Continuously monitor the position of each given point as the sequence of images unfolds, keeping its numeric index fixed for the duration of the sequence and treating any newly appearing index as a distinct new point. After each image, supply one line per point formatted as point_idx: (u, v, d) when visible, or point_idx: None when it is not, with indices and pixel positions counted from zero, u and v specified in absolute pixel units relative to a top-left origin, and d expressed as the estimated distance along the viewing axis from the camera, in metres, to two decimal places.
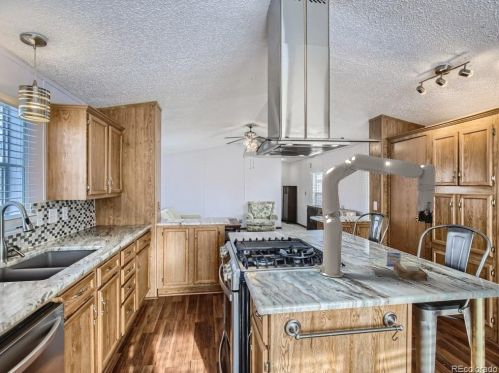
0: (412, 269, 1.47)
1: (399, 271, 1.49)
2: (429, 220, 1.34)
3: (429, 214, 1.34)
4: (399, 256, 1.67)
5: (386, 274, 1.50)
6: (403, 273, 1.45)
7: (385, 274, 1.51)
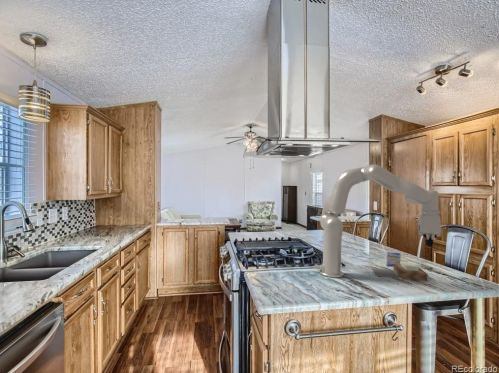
0: (412, 269, 1.47)
1: (399, 271, 1.49)
2: (426, 243, 1.49)
3: None
4: (399, 256, 1.67)
5: (386, 274, 1.50)
6: (403, 273, 1.45)
7: (385, 274, 1.51)
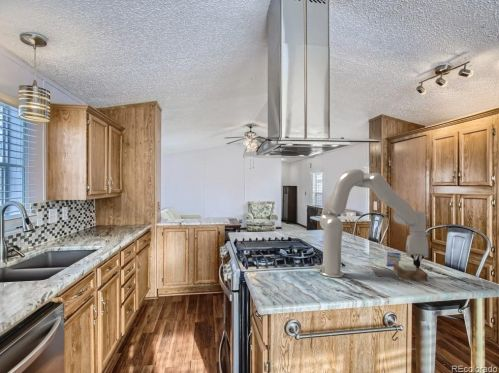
0: (410, 269, 1.47)
1: (399, 271, 1.49)
2: None
3: None
4: (399, 256, 1.67)
5: (386, 274, 1.50)
6: (403, 273, 1.45)
7: (385, 274, 1.51)
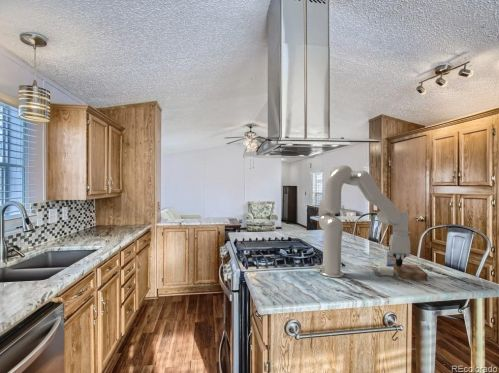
0: (387, 271, 1.50)
1: (399, 271, 1.49)
2: (396, 263, 1.53)
3: None
4: (399, 256, 1.67)
5: None
6: (403, 273, 1.45)
7: None
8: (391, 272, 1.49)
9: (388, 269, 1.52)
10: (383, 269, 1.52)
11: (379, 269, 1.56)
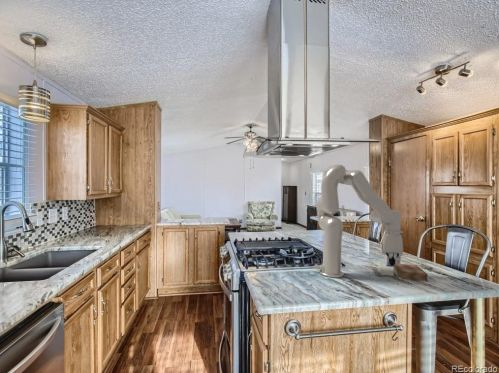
0: (387, 271, 1.50)
1: (399, 271, 1.49)
2: (389, 262, 1.54)
3: None
4: (399, 256, 1.67)
5: None
6: (403, 273, 1.45)
7: None
8: (391, 272, 1.49)
9: (388, 269, 1.52)
10: (383, 269, 1.52)
11: (379, 269, 1.56)
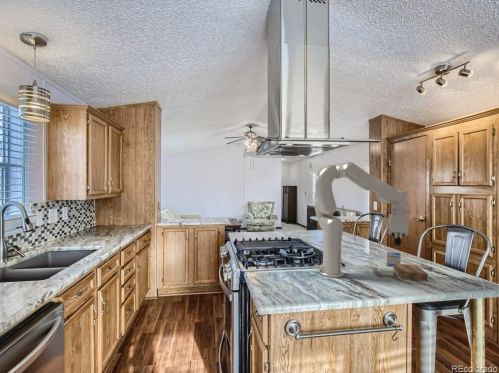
0: (387, 271, 1.50)
1: (399, 271, 1.49)
2: (394, 242, 1.53)
3: (394, 237, 1.53)
4: (399, 256, 1.67)
5: None
6: (403, 273, 1.45)
7: None
8: (391, 272, 1.49)
9: (388, 269, 1.52)
10: (383, 269, 1.52)
11: (379, 269, 1.56)
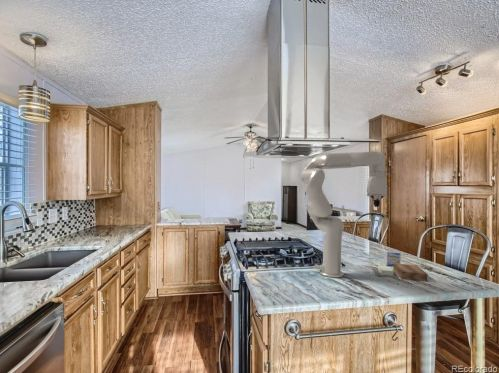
0: (387, 271, 1.50)
1: (399, 271, 1.49)
2: None
3: (373, 199, 1.59)
4: (399, 256, 1.67)
5: None
6: (403, 273, 1.45)
7: None
8: (391, 272, 1.49)
9: (388, 269, 1.52)
10: (383, 269, 1.52)
11: (379, 269, 1.56)
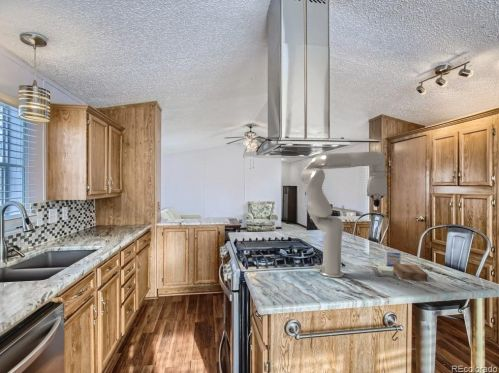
0: (387, 271, 1.50)
1: (399, 271, 1.49)
2: None
3: (373, 199, 1.59)
4: (399, 256, 1.67)
5: None
6: (403, 273, 1.45)
7: None
8: (391, 272, 1.49)
9: (388, 269, 1.52)
10: (383, 269, 1.52)
11: (379, 269, 1.56)
